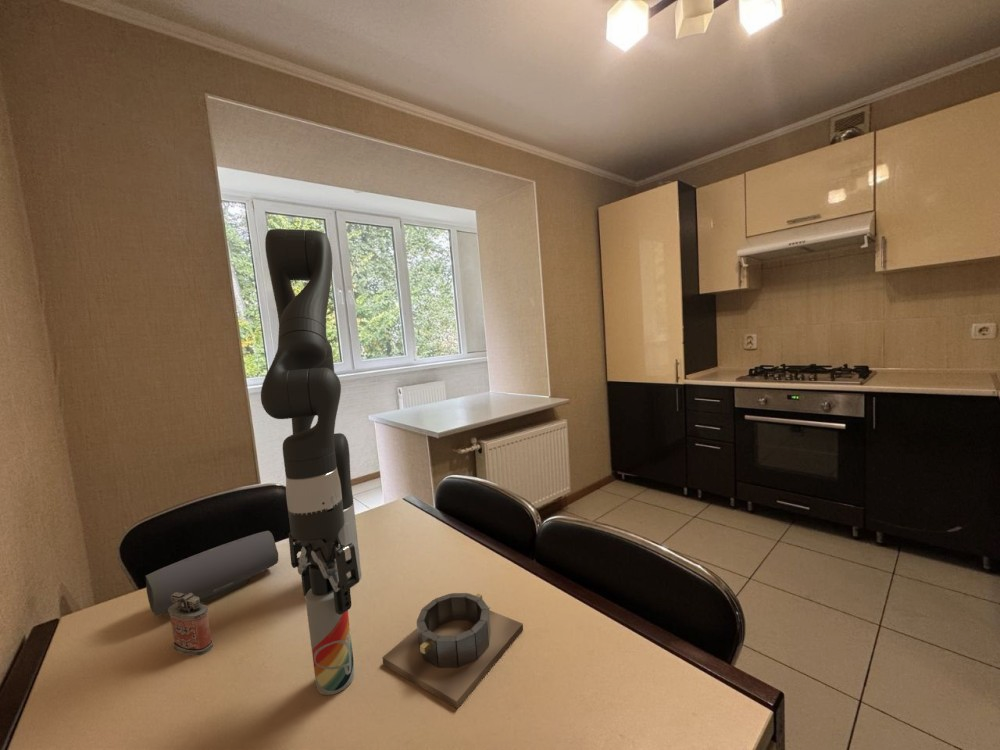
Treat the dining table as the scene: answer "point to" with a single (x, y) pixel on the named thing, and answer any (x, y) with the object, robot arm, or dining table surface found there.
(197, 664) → the dining table surface
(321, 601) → the lotion bottle
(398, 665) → the base plate
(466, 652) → the ring
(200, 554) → the bluetooth speaker
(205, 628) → the lighter
